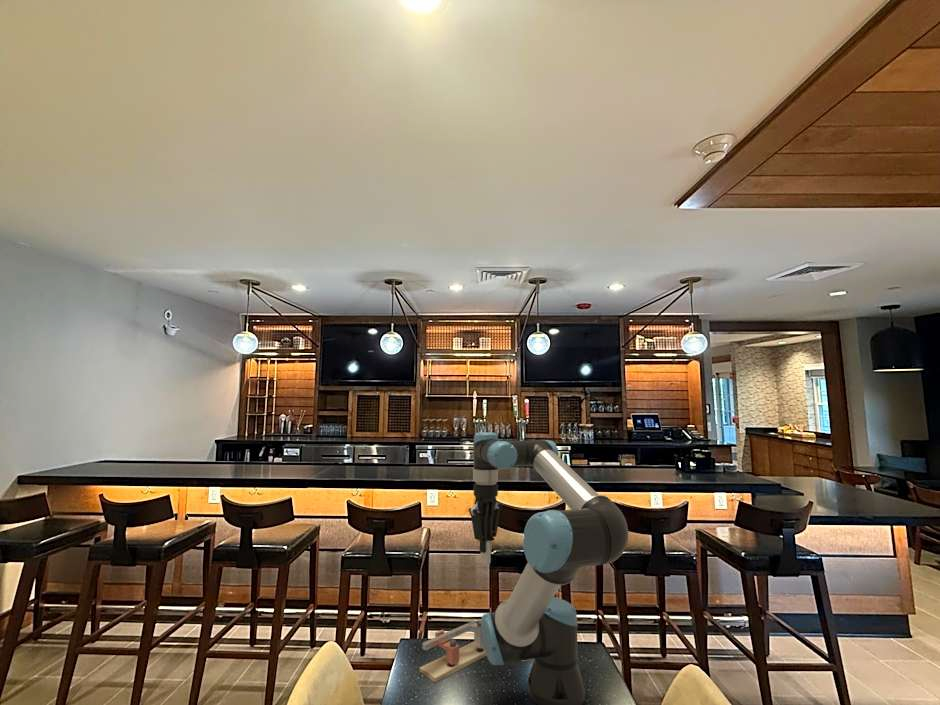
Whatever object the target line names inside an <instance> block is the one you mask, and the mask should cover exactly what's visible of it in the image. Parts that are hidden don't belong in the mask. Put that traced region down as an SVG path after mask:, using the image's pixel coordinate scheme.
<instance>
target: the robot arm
mask: <svg viewBox="0 0 940 705" xmlns="http://www.w3.org/2000/svg"><path fill="white" fill-rule="evenodd" d="M472 445H473V482H475V483H474V484H473V496H474V498H475V500H474V503H473V504H474V505H473V506H472V508H471V507H469V508H468V513H469V515H470V518H471V524H472V530H473V537H474V540H476V541H477V540H478V541H479V552H480V563H481V564H484V565H490V564H491V563H492V562H491V561H492V560H491V555H492V554H491V551H492V541H495V538H496V537H497V534H498V527H499V520H500V513H501V510H502V507H503V504H501V503H499V502H497V501H498V500H497V498H496V497H498V494H499V485H498V482H499V469H503V470H504V469H505V470H506V469H510V468H511V467H515V468H516V467H532V468H533V469H534V470H535V471H536V472H537V473H538V474H539V475H540V476H541V478H542V479H544V481H545V482H546V483H547V485H549V488H551V489H552V490H553V491H554V492H555V493H556V495H557V496H558V497H559V498H560V499H561V501H562V502H564V503H565V505H566V506H567V508H569V509H564V510H563V509H562V510H556V509H547V510H546V511H542V512H540V511H539V512H537V513H535V514H533V515H532V516H531V517H530V518H529V519H528V520H527V522H526V525H525V527H524V529H523V530H524V531H523V536H524V538H523V539H522V543H523V544H522V546H523V552H524V556H525V559H526V561H527V563H526V565H525V567H524V568H523V569H524V570H523V571H522V573H521V575H520V576H519V579H518V581H517V582H516V585H515V587H514V589H513V590H512V592H511V595H510V596H509V597H508V598H507V599H505V600H502V602H501V603H499V605H497V608H496V610H495V611H494V612H491V611H490V612H487V613H485V614H483V615H482V616H481V619H480V621H481V633H482V640H483V646H484V649H485V653H486V655H487V656H486V658H487V660H488V661H489V663H490V664H491V665H493V666H505V665H506V664H511V663H517V662H522V661H523V660H528V659H533V658H534V659H533V660H532V661H533V662H532V666H531V669H530V671H529V675H528V679H527V693H528V697H529V698H530V700H532V701H533V702H534V703H535V704H537V705H583V704H584V702H585V700H586V689H585V683H584V681H583V678H582V674H581V671H580V668H579V663H578V662H579V661H578V660H579V659H578V624H579V623H578V616H577V611H576V608H575V607H574V606H573V604H571V603H570V602H568V601H567V600H565V599H562V598H559V597H556V594H557V593H558V591H559V589H560V587H561V586H565V585H567V584H570V583H571V582H572V581H573V580H574V579H575V578H576V577H577V574H578V573H579V571H580V570H581V569H582V568H587V567H596V566H604V565H609V564H611V563H613V562H615V561H617V560H618V559H619V558H620V557H621V556H622V555H623V554H624V551H625V550H626V548H627V545H628V542H629V528H628V523H627V519H626V518H625V516H624V514H623V512H622V511H621V509H620V508H619V507H618V506H617V505H616V504H615V503H614V502H613V501H612V500H611V499H610V498H609V497H608V496H606V495H602V494H599V493H598V492H597V491H595V489H593V487H592V486H590V485H589V484H588V483H587V482H586V481H585V480H584V479H583V478H582V477H581V476H580V475H579V474H578V473H577V472H576V471H574V469H572V467H570V466H569V465H568V464H567V463H566V462H565V461H564V460H563V459H562V458H561V457H560V456H559V449H558V447H557V444H556V442H555V441H552V440H547V439H536V440H535V439H532V440H531V439H530V440H499V438H498V434H497V433H496V432H481V431H480V432H476V433H475V434H474V435H473V443H472Z"/></svg>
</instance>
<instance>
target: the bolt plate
mask: <svg viewBox="0 0 940 705" xmlns="http://www.w3.org/2000/svg"><path fill="white" fill-rule="evenodd" d="M485 657H487V655H486V653H485V649H484V645H483V646H482V650H481V651H479V646H477V645H476V644H474V641H472V642H470V643H468V644H466V645H463V646H462V647H459V662H458V663H456V664H454V665H451V664H450V663H448V662H447V654H445V655H442V656H441V657H438V658H437V659H435V660H432V661H430V662H428V663H426V664H424V665H422V666H420V667H419V673H420V674H422V675H423V676H424V677H426V678H428V679H429V680H430V681H432V682H434V683H438V682H440V681H441V680H443V679H445V678H447V677H449V676H452V675H453V674H455V673H457V672H458V671H461V670H463V669H464V668H466V667H468V666H470V665H472V664H473V663H475V662H478V661H479V660H481V659H483V658H485Z"/></svg>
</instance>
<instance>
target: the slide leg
mask: <svg viewBox="0 0 940 705" xmlns="http://www.w3.org/2000/svg"><path fill="white" fill-rule="evenodd" d="M444 633H445V630H444V629H441V630H439V631H438V630H437V631H436V632H435V634H434V636H435V637H437V636H439V635H442V634H444ZM435 637H434V638H435ZM438 646H439V648H442V649H444V650H445V651H446V655H447V662H448V663H450V664H451V665H454V664H456V663H458V662H459V648H460V645H458V644H457V640H456V639H455V638H452V639H450V640H448V641H445V642H443V643H441V644H439V645H438Z"/></svg>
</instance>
